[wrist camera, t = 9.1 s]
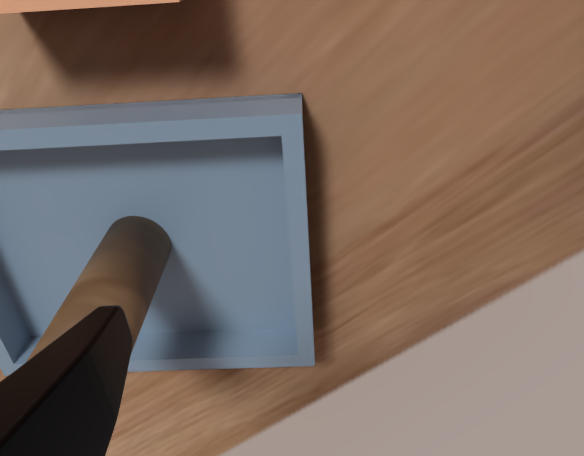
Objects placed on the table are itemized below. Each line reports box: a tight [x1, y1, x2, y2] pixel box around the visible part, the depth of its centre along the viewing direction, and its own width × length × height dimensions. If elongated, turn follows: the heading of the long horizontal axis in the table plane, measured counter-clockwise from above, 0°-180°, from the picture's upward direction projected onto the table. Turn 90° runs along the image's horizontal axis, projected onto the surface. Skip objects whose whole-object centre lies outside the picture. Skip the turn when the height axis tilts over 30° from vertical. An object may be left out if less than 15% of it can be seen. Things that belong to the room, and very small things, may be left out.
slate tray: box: [0, 93, 315, 375], centre depth 22 cm, size 16×13×2 cm
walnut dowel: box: [26, 216, 171, 362], centre depth 19 cm, size 3×3×9 cm
